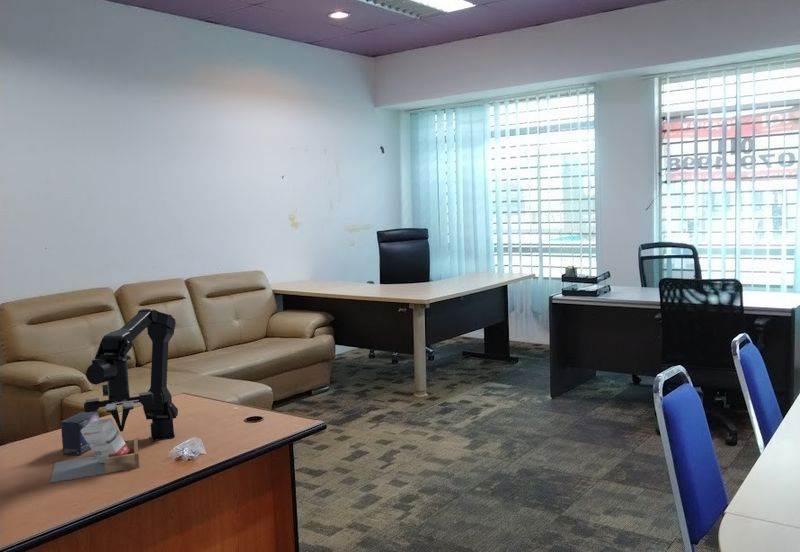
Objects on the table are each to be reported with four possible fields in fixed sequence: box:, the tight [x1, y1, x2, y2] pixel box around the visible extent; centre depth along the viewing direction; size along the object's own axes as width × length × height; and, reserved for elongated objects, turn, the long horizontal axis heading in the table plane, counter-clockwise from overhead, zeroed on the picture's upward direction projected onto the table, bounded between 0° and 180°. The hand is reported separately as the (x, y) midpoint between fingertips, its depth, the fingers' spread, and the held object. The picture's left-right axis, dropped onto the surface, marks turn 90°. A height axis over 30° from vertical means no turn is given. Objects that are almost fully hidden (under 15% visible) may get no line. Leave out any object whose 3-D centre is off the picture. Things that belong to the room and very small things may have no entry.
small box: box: [60, 411, 100, 456], centre depth 221 cm, size 11×6×10 cm, turn 168°
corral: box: [104, 437, 140, 474], centre depth 209 cm, size 9×15×4 cm, turn 21°
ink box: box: [81, 418, 130, 463], centre depth 206 cm, size 9×5×12 cm, turn 66°
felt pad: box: [49, 455, 107, 484], centre depth 205 cm, size 14×16×1 cm
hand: (121, 431), depth 207 cm, fingers closed
